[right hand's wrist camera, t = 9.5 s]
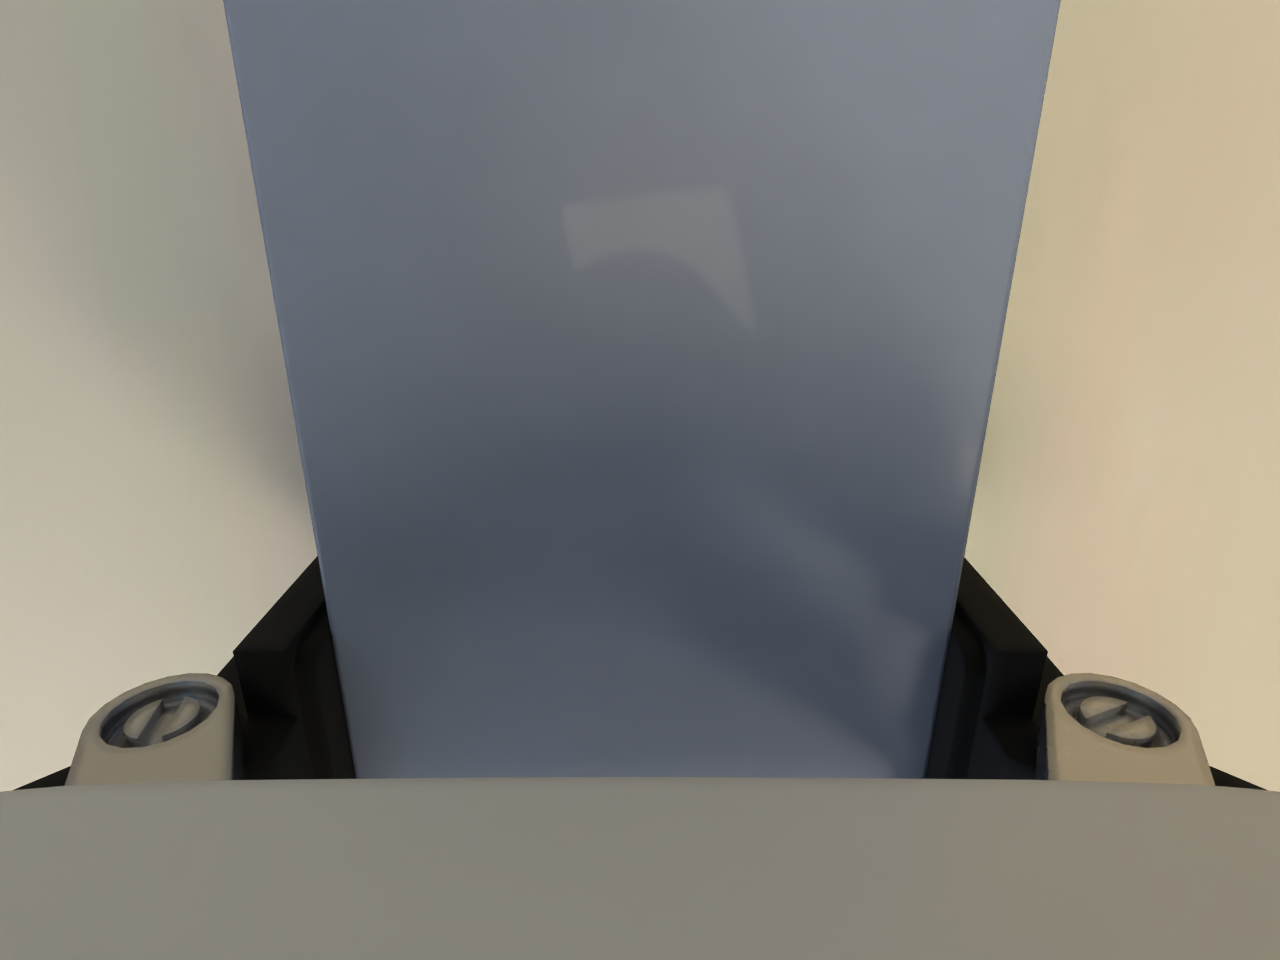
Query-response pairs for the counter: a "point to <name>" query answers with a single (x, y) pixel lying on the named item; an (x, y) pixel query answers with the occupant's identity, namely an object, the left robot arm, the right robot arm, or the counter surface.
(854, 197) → the blue-grey slab
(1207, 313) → the counter surface
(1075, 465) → the counter surface
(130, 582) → the counter surface
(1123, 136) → the counter surface
